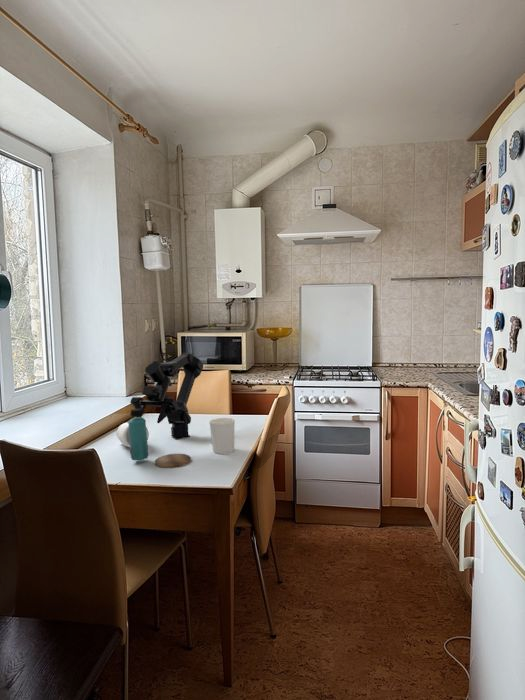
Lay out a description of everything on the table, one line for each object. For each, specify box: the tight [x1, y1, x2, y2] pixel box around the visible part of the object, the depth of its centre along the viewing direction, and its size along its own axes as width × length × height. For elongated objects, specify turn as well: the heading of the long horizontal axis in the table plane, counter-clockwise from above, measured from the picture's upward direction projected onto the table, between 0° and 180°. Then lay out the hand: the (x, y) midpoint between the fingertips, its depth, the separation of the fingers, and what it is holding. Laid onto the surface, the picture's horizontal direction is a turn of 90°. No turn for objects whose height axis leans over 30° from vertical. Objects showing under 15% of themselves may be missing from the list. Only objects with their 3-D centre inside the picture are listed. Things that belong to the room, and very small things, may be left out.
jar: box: [116, 421, 150, 448], centre depth 195 cm, size 11×10×15 cm
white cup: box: [209, 417, 236, 455], centre depth 184 cm, size 10×10×12 cm
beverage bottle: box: [128, 408, 150, 462], centre depth 174 cm, size 6×7×20 cm
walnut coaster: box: [154, 453, 192, 469], centre depth 173 cm, size 13×13×1 cm
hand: (147, 422), depth 180 cm, fingers open, 9 cm apart
